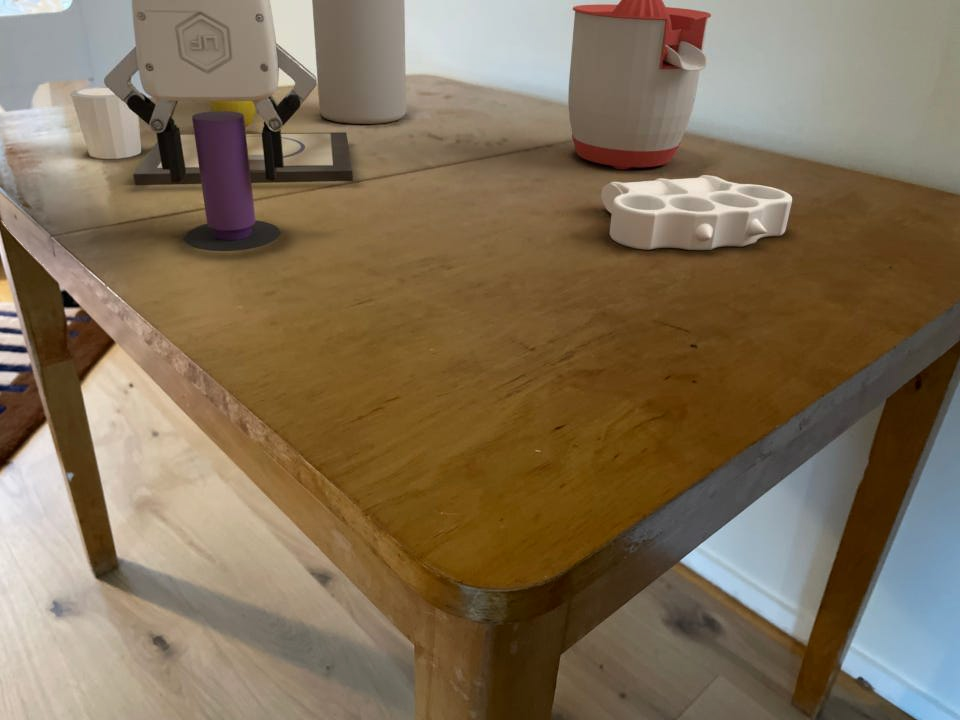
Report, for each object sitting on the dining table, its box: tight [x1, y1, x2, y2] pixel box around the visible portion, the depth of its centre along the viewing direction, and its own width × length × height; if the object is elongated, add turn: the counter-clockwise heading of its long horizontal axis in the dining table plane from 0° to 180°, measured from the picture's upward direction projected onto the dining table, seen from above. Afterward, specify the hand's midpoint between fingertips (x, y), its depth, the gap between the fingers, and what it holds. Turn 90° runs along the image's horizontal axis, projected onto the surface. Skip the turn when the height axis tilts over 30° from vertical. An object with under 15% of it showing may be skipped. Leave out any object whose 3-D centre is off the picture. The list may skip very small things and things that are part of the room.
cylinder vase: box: [311, 0, 407, 125], centre depth 108 cm, size 12×12×25 cm
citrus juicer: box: [567, 0, 712, 170], centre depth 92 cm, size 16×17×20 cm
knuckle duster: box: [600, 174, 793, 251], centre depth 74 cm, size 3×18×15 cm
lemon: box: [209, 101, 257, 129], centre depth 100 cm, size 6×6×8 cm
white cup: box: [70, 86, 142, 160], centre depth 90 cm, size 7×7×7 cm
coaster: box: [183, 219, 281, 252], centre depth 68 cm, size 8×8×1 cm
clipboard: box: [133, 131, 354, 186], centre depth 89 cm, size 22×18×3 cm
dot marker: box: [191, 110, 256, 240], centre depth 65 cm, size 4×4×10 cm
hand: (225, 175), depth 65 cm, fingers open, 6 cm apart
